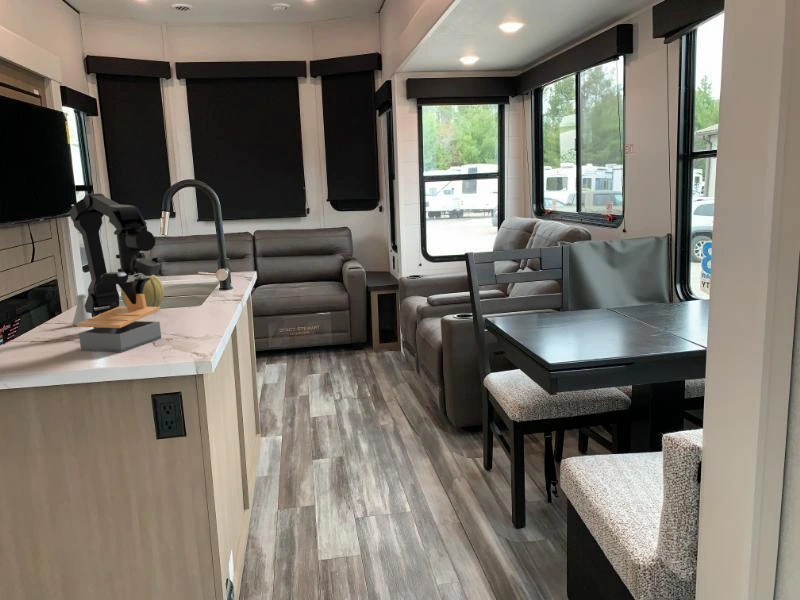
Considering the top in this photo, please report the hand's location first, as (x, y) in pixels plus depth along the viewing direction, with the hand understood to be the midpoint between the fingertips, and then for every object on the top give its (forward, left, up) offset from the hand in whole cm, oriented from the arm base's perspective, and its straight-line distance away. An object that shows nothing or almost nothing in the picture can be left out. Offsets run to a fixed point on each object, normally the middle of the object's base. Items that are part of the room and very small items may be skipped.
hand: (136, 303), depth 185 cm
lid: (0, -7, -3) cm, 8 cm away
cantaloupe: (-29, +37, -11) cm, 48 cm away
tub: (0, -7, -10) cm, 13 cm away
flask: (-36, +16, -11) cm, 41 cm away
